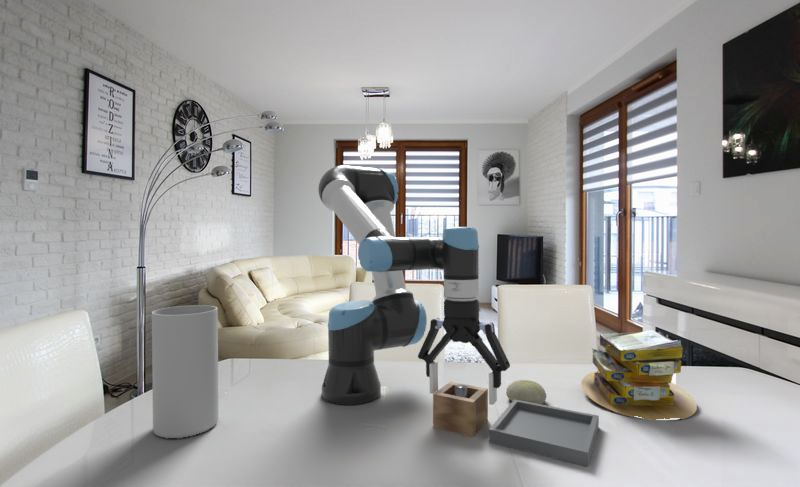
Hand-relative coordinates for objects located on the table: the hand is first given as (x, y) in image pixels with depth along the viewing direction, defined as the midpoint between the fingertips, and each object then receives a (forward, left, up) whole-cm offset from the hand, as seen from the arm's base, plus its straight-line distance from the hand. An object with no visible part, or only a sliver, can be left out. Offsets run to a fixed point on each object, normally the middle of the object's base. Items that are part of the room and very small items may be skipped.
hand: (462, 397), depth 92 cm
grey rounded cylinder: (0, 0, -6) cm, 6 cm away
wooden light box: (0, +1, -6) cm, 6 cm away
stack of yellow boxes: (+32, +35, -6) cm, 48 cm away
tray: (+17, +4, -6) cm, 18 cm away
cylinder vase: (-50, -31, -6) cm, 59 cm away
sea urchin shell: (+9, +20, -6) cm, 23 cm away
